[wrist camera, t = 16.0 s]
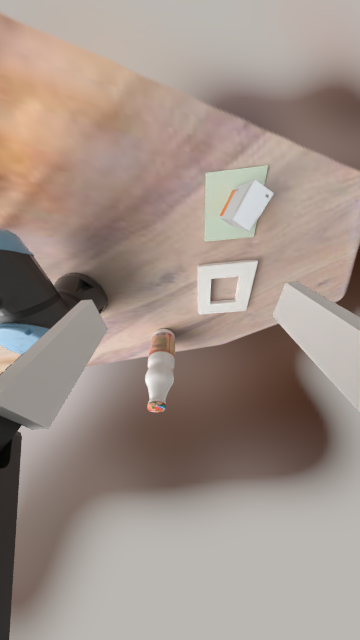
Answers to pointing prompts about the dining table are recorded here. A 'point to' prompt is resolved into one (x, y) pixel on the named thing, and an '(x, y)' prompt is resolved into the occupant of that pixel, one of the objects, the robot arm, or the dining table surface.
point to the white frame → (224, 270)
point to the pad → (217, 195)
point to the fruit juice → (160, 369)
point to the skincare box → (246, 204)
